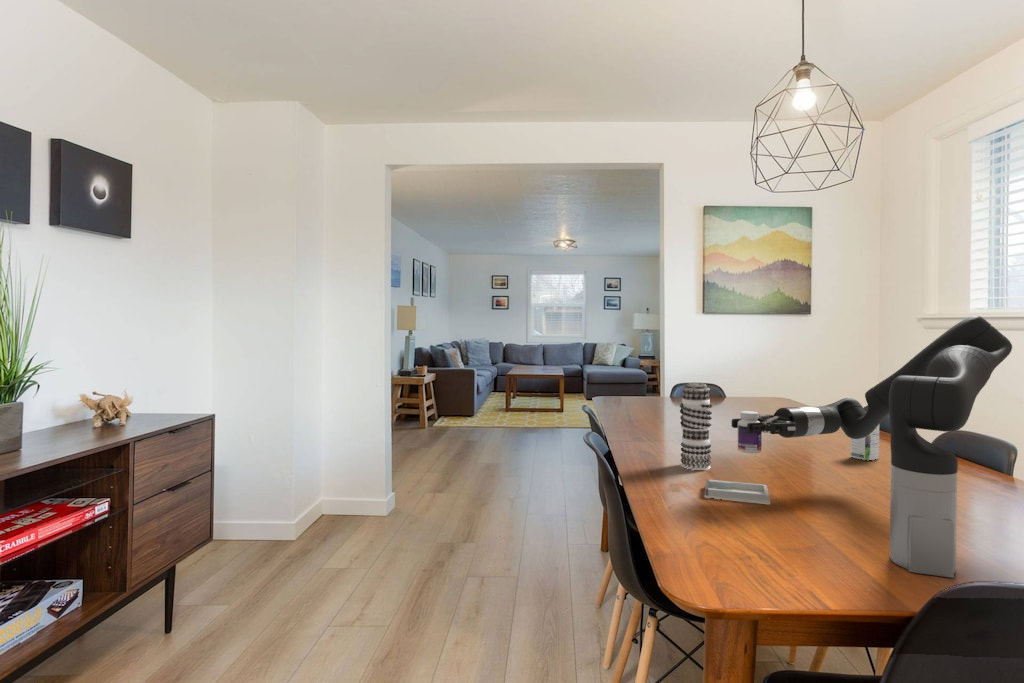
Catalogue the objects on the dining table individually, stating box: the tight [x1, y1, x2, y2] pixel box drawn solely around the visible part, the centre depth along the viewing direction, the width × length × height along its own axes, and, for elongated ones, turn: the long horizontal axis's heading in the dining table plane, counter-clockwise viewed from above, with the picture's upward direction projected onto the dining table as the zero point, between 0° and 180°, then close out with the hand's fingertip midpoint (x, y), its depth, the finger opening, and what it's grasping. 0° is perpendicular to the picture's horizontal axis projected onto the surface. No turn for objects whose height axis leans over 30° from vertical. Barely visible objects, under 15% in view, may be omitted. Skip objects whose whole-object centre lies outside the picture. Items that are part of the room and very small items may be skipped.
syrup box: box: [849, 411, 881, 462], centre depth 166 cm, size 6×6×14 cm
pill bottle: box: [737, 410, 763, 454], centre depth 131 cm, size 5×5×10 cm
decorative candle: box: [679, 382, 713, 471], centre depth 158 cm, size 9×9×25 cm
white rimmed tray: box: [704, 478, 771, 506], centre depth 132 cm, size 14×10×2 cm
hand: (740, 425), depth 130 cm, fingers closed on pill bottle, 5 cm apart
